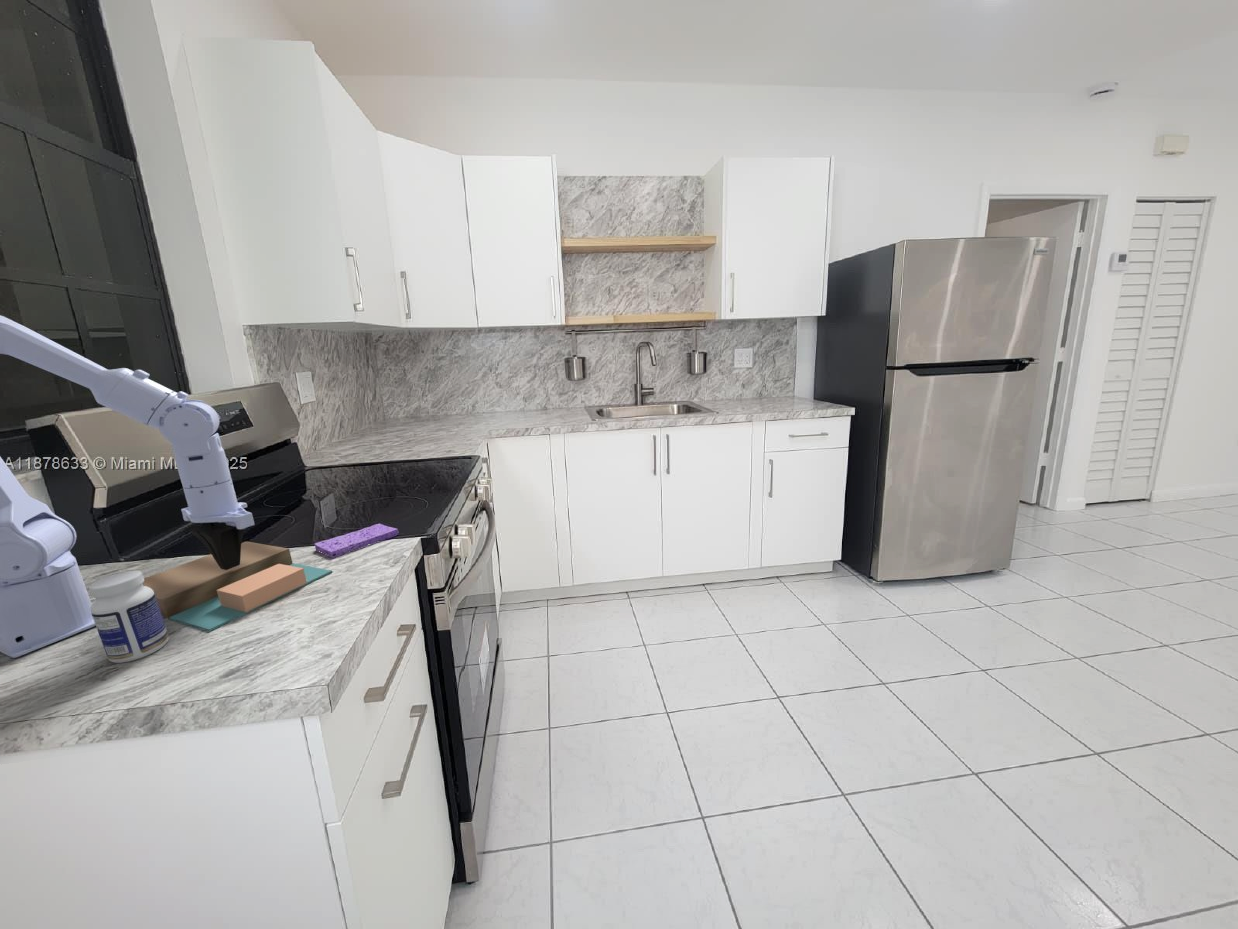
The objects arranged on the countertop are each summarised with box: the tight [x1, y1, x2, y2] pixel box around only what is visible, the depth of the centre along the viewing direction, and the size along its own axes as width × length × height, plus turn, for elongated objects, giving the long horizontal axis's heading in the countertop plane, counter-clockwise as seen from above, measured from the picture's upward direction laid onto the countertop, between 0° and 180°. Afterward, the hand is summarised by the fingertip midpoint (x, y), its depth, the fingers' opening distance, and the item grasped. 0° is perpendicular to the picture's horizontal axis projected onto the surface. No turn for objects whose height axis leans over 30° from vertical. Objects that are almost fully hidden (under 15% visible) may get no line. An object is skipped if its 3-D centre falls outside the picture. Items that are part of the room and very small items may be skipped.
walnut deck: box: [143, 541, 293, 620], centre depth 81 cm, size 18×12×3 cm, turn 156°
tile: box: [217, 564, 307, 612], centre depth 75 cm, size 9×6×2 cm, turn 156°
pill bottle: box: [88, 570, 170, 664], centre depth 62 cm, size 6×6×10 cm
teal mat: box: [168, 562, 333, 632], centre depth 76 cm, size 18×10×1 cm, turn 156°
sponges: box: [314, 523, 399, 559], centre depth 95 cm, size 7×13×2 cm, turn 142°
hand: (230, 566), depth 78 cm, fingers closed
